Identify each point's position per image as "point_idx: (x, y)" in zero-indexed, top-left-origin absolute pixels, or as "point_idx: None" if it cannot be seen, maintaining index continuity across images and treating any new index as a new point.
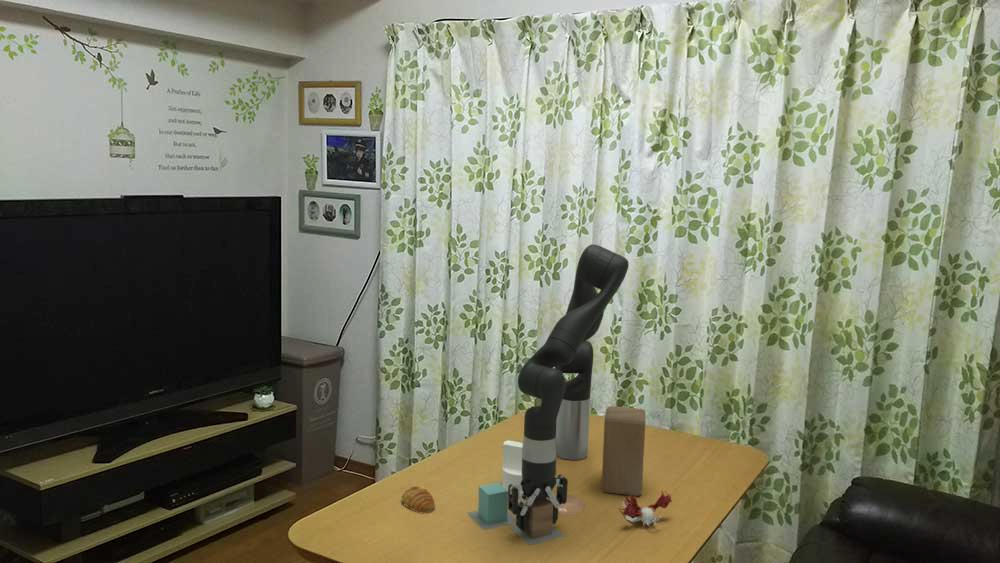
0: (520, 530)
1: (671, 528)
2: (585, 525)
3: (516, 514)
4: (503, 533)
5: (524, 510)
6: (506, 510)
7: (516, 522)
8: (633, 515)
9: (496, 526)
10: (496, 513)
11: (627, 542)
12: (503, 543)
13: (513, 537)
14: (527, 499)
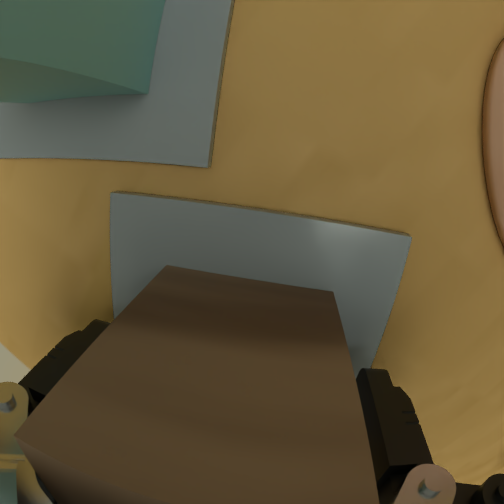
0: (148, 280)
1: None
2: (500, 386)
3: (20, 383)
4: (64, 227)
5: (40, 480)
6: (95, 83)
7: (57, 349)
8: None
9: (49, 151)
10: (27, 93)
11: None
12: (39, 310)
13: (94, 296)
14: (76, 484)
